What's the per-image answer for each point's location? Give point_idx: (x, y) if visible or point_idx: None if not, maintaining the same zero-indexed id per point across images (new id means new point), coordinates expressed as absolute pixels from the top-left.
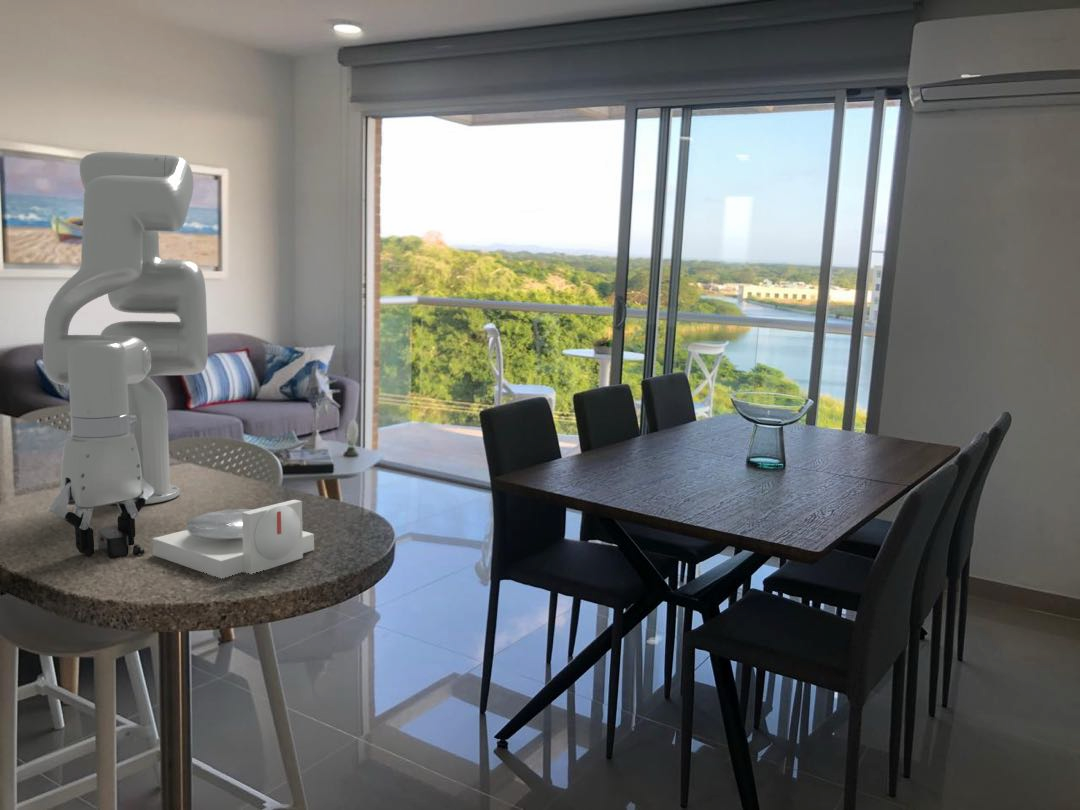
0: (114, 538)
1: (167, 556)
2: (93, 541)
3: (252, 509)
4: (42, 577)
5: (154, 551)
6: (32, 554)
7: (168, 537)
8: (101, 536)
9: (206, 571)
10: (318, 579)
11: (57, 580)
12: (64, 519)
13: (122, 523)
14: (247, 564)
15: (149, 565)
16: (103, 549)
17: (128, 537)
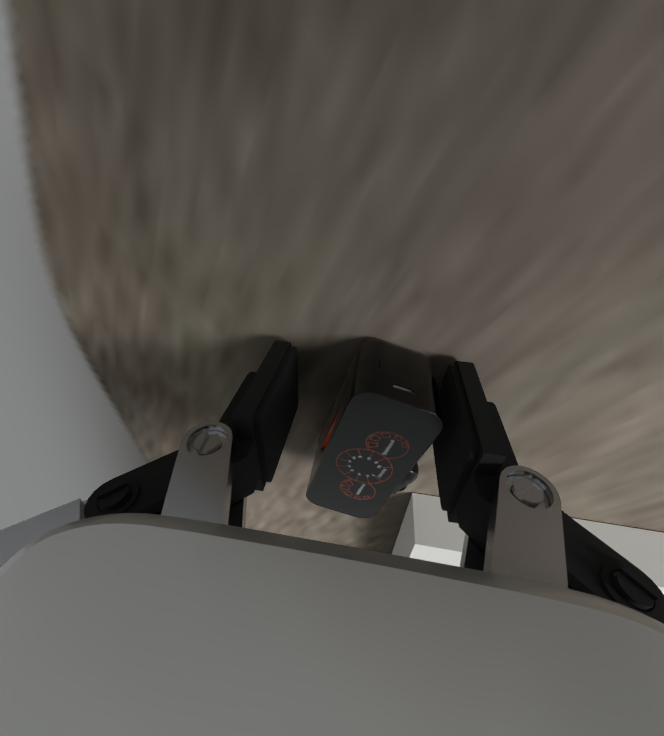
0: (322, 505)
1: (401, 535)
2: (284, 441)
3: None
4: (135, 414)
5: (411, 507)
6: (128, 167)
7: (444, 563)
8: (332, 430)
9: None
10: None
11: (163, 450)
12: (125, 478)
13: (453, 461)
14: None
15: (352, 518)
16: (332, 410)
17: (435, 442)
